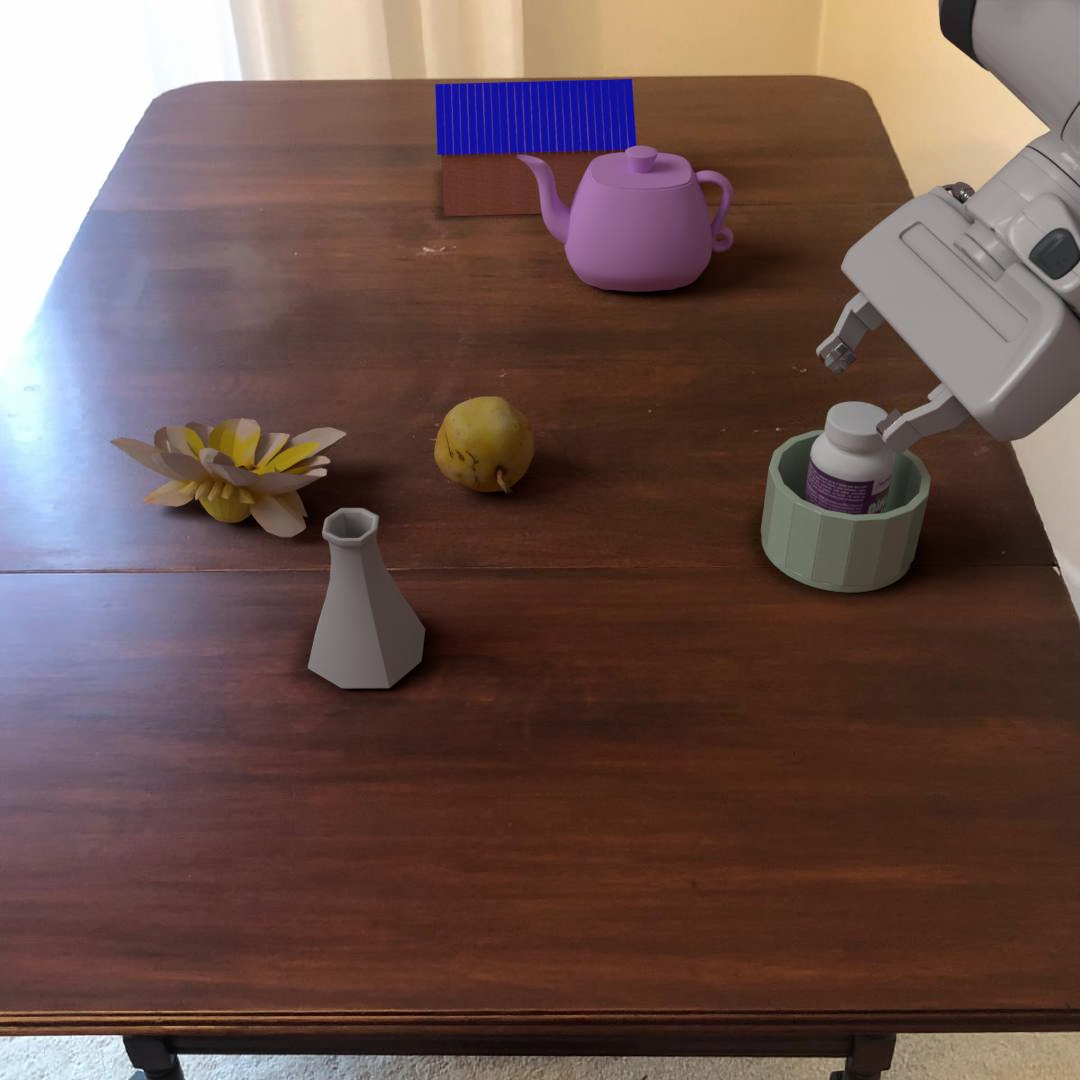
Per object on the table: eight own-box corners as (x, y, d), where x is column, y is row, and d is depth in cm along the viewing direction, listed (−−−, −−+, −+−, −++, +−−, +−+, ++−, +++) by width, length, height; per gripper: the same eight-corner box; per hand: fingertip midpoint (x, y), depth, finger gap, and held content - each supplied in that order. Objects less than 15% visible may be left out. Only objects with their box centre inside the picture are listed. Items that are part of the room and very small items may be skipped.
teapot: (723, 240, 121) (733, 122, 114) (737, 304, 111) (750, 178, 103) (521, 241, 121) (518, 123, 114) (517, 304, 111) (513, 179, 104)
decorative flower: (393, 456, 89) (354, 352, 81) (321, 574, 83) (272, 474, 75) (223, 426, 94) (172, 326, 87) (144, 535, 88) (81, 438, 80)
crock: (945, 564, 81) (964, 491, 78) (821, 611, 78) (834, 537, 74) (849, 484, 89) (862, 414, 85) (731, 524, 85) (739, 453, 81)
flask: (287, 678, 74) (262, 549, 68) (340, 602, 79) (322, 476, 73) (397, 705, 72) (382, 575, 66) (444, 626, 77) (434, 499, 71)
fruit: (558, 446, 83) (527, 370, 90) (459, 438, 81) (436, 361, 88) (534, 526, 87) (506, 447, 94) (439, 520, 84) (419, 440, 92)
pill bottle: (877, 567, 80) (902, 445, 74) (795, 556, 81) (814, 435, 75) (878, 518, 84) (903, 399, 78) (801, 508, 85) (819, 390, 79)
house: (442, 173, 135) (436, 65, 128) (622, 167, 136) (626, 60, 129) (441, 217, 126) (434, 104, 119) (634, 211, 127) (638, 98, 119)
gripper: (928, 141, 78) (766, 297, 82) (1108, 283, 62) (895, 466, 66) (978, 202, 81) (819, 348, 86) (1160, 351, 65) (954, 520, 70)
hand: (853, 401), depth 76 cm, fingers open, 8 cm apart
